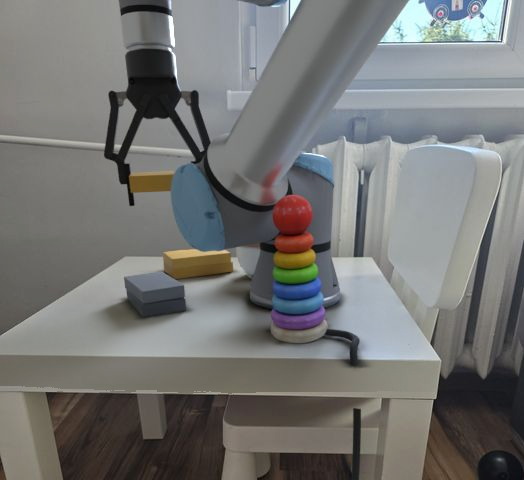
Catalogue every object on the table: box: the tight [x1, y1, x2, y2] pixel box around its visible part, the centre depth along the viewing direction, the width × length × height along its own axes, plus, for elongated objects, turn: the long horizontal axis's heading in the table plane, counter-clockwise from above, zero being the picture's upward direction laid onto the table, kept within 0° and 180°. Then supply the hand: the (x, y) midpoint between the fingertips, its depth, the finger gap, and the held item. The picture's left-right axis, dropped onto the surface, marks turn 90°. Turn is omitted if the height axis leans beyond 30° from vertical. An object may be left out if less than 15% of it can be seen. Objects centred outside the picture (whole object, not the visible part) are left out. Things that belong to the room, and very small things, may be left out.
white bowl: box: [235, 243, 260, 279], centre depth 97 cm, size 11×11×9 cm
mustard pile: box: [162, 248, 234, 280], centre depth 102 cm, size 13×8×4 cm, turn 117°
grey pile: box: [123, 271, 187, 318], centre depth 82 cm, size 11×7×4 cm, turn 27°
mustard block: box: [129, 170, 176, 194], centre depth 82 cm, size 14×10×2 cm
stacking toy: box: [270, 195, 329, 344], centre depth 65 cm, size 8×8×19 cm
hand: (164, 203), depth 84 cm, fingers closed on mustard block, 10 cm apart
